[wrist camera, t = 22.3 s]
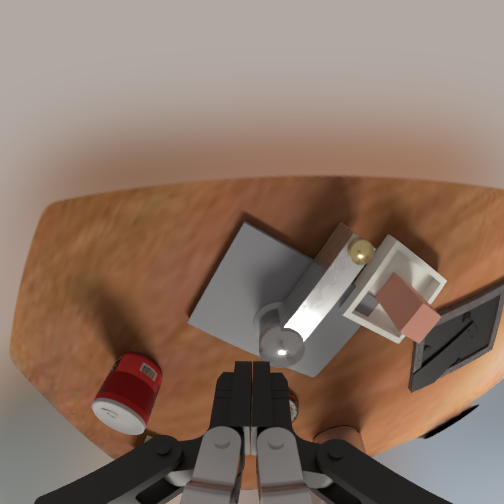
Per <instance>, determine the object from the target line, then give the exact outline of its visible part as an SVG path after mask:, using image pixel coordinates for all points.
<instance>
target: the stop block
mask: <svg viewBox="0 0 504 504" xmlns="http://www.w3.org/2000/svg"><path fill="white" fill-rule="evenodd" d="M375 298H376V299H377V300H378V302H379V303H380V305H381V306H382V307H383V309H384V310H385V312H386V313H387V314H388V316H389V317H390V319H391V320H392V322H393V323H394V325H395V326H396V327H397V329H398V330H399V332H400V333H402V334H404V335H405V336H407V337H409V338H410V339H412V340H414V341H415V342H417V343H420V342H421V341H422V340H423V339H424V338H425V336H426V335H427V334H428V333H429V332H430V330H431V329H432V328H433V327H434V326H435V324H436V323H437V322H438V321H439V319H440V318H441V316H440V315H439V314H438V313H437V312H436V310H435V309H434V308H433V307H432V306H431V305H430V304H429V303H428V302H427V301H426V300H425V299H424V298H423V297H422V296H421V295H420V294H419V293H418V292H417V291H416V290H415V289H414V288H413V287H412V286H411V285H410V284H409V283H407V282H406V281H405V280H404V279H402V278H401V277H400V276H398V275H397V274H396V273H394V272H393V273H392V275H391V276H390V278H389V279H388V280H387V281H386V283H385V284H384V285H383V287H382V288H381V289H380V291H379V292H378V293H377V294H376V296H375Z"/></svg>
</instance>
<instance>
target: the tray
mask: <svg viewBox="0 0 504 504" xmlns="http://www.w3.org/2000/svg"><path fill="white" fill-rule="evenodd" d="M393 272H394V273H396V274H397V275H398V276H400V277H401V278H402V279H404V280H405V281H406V282H407V283H409V284H410V285H411V286H412V287H413V288H414V289H415V290H416V291H417V292H418V293H419V294H420V295H421V296H422V297H423V298H424V299H425V300H426V301H427V302H428V303H429V304H431V303H432V302H433V300H434V299H435V298H436V296H437V295H438V293H439V292H440V291H441V289H442V288H443V286H444V285H445V283H446V282H447V281H446V280H445V279H444V278H443V277H442V276H441V275H439V274H438V273H437V272H436V271H435V270H434V269H432V268H431V267H430V266H429V265H428V264H426V263H425V262H424V261H423V260H422V259H420V258H419V257H418V256H417V255H415V254H414V253H413V252H412V251H410V250H409V249H408V248H407V247H405V246H404V245H403V244H402V243H400V242H399V241H398V240H396V239H395V238H394V237H392V236H391V235H389V234H387V236H386V237H385V239H384V240H383V242H382V243H381V245H380V246H379V248H378V249H377V251H376V252H375V254H374V256H373V258H372V260H371V261H370V262H369V263H368V264H367V265H366V267H365V268H364V269H363V271H362V272H361V274H360V275H359V276H358V278H357V279H356V281H355V282H354V284H355V286H356V288H355V289H354V290H353V292H352V293H351V294H350V296H349V297H348V298H347V299H346V301H345V302H344V303H343V305H342V306H341V307H340V311H341V313H342V315H343V316H345V317H347V318H349V319H350V320H352V321H354V322H356V323H358V324H360V325H362V326H364V327H366V328H368V329H370V330H372V331H374V332H376V333H378V334H380V335H382V336H384V337H386V338H388V339H390V340H392V341H394V342H396V343H398V344H399V343H400V342H401V340H402V339H403V338H404V337H405V335H404V334H402V333H400V332H399V330H398V329H397V327H396V326H395V325H394V323H393V322H392V320H391V319H390V317H389V316H388V314H387V313H386V312H385V310H384V309H383V307H382V306H381V305H380V303H379V304H378V305H377V307H376V308H375V309H374V310H373V312H372V313H371V314H370V315H369V317H367V316H365V315H363V314H361V313H359V312H358V311H356V310H354V309H355V308H356V307H357V305H358V304H359V303H360V301H361V300H362V299H363V297H364V296H365V295H366V294H367V293H369V294H371V295H372V296H374V297H375V296H376V294H377V293H378V292H379V291H380V289H381V288H382V287H383V285H384V284H385V283H386V281H387V280H388V279H389V278H390V276H391V275H392V273H393Z"/></svg>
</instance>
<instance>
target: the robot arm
mask: <svg viewBox="0 0 504 504" xmlns="http://www.w3.org/2000/svg"><path fill="white" fill-rule="evenodd" d="M251 410H252V426H251ZM251 429H252V455H257V457H256V474H257V486H258V497H259V504H312V500H311V495H310V491H309V489H310V490H311V491H312V492H313V493H315V494H316V495H317V496H318V497H320V498H321V502H322V504H453V503H450V502H448V501H446V500H444V499H442V498H440V497H438V496H436V495H434V494H432V493H430V492H429V491H427V490H425V489H423V488H421V487H419V486H418V485H416V484H414V483H412V482H410V481H409V480H407V479H405V478H404V477H402V476H400V475H398V474H397V473H395V472H393V471H392V470H390V469H389V468H387V467H385V466H384V465H382V464H380V463H379V462H377V461H376V460H374V459H373V458H371V457H370V456H368V455H367V454H366V451H365V448H364V444H363V441H362V437H361V434H360V433H358V432H357V430H356V429H355V428H353V427H350V426H340V427H335V428H331V429H329V430H326V431H324V432H322V433H320V434H319V435H318V436H316V437H315V439H314V441H313V442H309V441H305V440H303V439H301V438H300V437H298V436H297V435H296V434H295V432H294V431H293V428H292V421H291V411H290V401H289V392H288V382H287V380H286V378H285V377H284V375H283V374H282V373H270V361H253V390H252V361H235V369H234V372H223V373H222V374H221V376H220V377H219V378H218V380H217V384H216V391H215V396H214V402H213V408H212V414H211V420H210V426H209V429H208V430H207V432H206V433H205V434H204V435H202V436H201V437H199V438H196V439H193V440H187V441H180V442H178V441H177V440H176V439H175V438H173V437H171V436H167V435H159V436H155V437H153V438H151V439H149V440H148V441H146V442H145V443H143V444H141V445H140V446H138V447H136V448H135V449H133V450H131V451H130V452H128V453H126V454H125V455H123V456H121V457H119V458H118V459H116V460H114V461H112V462H111V463H109V464H107V465H105V466H104V467H101V468H100V469H98V470H96V471H94V472H92V473H90V474H88V475H86V476H84V477H82V478H80V479H78V480H76V481H74V482H72V483H70V484H68V485H66V486H63V487H61V488H59V489H57V490H55V491H52V492H50V493H48V494H46V495H43V496H40V497H39V498H37V499H36V501H35V503H34V504H166V503H167V502H169V501H170V500H172V499H173V498H174V497H176V496H177V495H179V494H180V493H182V492H183V494H182V497H181V501H180V504H238V502H239V495H240V489H241V482H242V475H243V469H244V465H245V455H250V443H251Z"/></svg>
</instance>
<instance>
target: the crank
mask: <svg viewBox="0 0 504 504" xmlns="http://www.w3.org/2000/svg"><path fill="white" fill-rule="evenodd" d="M375 250H376V249H375V248H374V247H373V245H372V244H371V243H370V242H369V241H368V240H366V239H365V238H363V237H362V236H361V235H359V234H358V233H357V232H355V231H354V230H352V229H351V228H349V227H348V226H347V225H345V224H344V223H342V222H341V221H340V223H339V224H338V226H337V227H336V229H335V230H334V232H333V233H332V235H331V236H330V238H329V239H328V241H327V242H326V243H325V245H324V246H323V248H322V249H321V251H320V252H319V254H318V255H317V256H316V258H315V259H314V261H313V262H312V263H311V265H310V266H309V268H308V269H307V270H306V272H305V273H304V275H303V276H302V277H301V279H300V280H299V282H298V283H297V284H296V286H295V287H294V288H293V290H292V291H291V292H290V294H289V295H288V297H287V298H286V299H285V301H284V302H283V303H282V305H281V306H280V307H279V308H277V309H272V310H270V311H268V312H267V313H265V314H264V315H263V316H262V318H261V320H260V322H259V355H260V358H261V359H262V361H270V366H272V367H276V368H285V367H289V366H292V365H294V364H296V363H297V362H299V361H300V360H301V359H302V357H303V355H304V353H305V346H304V341H305V339H306V338H307V337H308V336H309V335H310V334H311V332H312V331H313V330H314V329H315V328H316V327H317V325H318V324H319V323H320V322H321V321H322V319H323V318H324V317H325V316H326V314H327V313H328V312H329V311H330V310H331V308H332V307H333V306H334V305H335V303H336V302H337V301H338V299H339V298H340V297H341V296H342V294H343V293H344V292H345V290H346V289H347V288H348V287H349V285H350V284H351V283H352V281H353V280H354V279H355V277H356V276H357V275H358V273H359V272H360V271H361V269H362V268H363V266H364V265H365V264H367V263H369V262H370V261H371V260H372V258H373V256H374V251H375Z"/></svg>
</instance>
